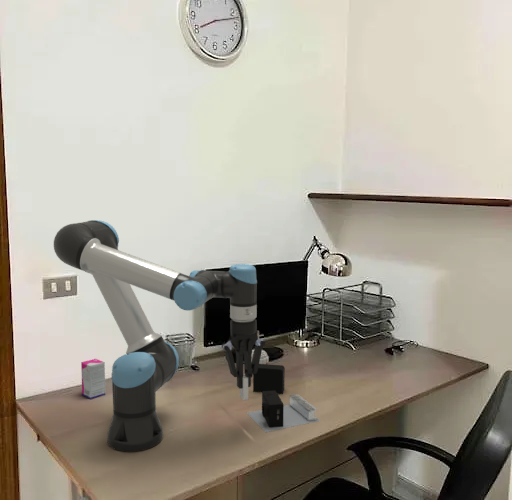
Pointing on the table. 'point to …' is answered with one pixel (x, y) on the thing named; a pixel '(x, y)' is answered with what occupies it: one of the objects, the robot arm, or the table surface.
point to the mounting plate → (289, 419)
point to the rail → (303, 407)
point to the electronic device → (269, 378)
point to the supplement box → (93, 378)
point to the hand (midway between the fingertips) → (244, 397)
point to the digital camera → (272, 408)
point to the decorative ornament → (264, 358)
